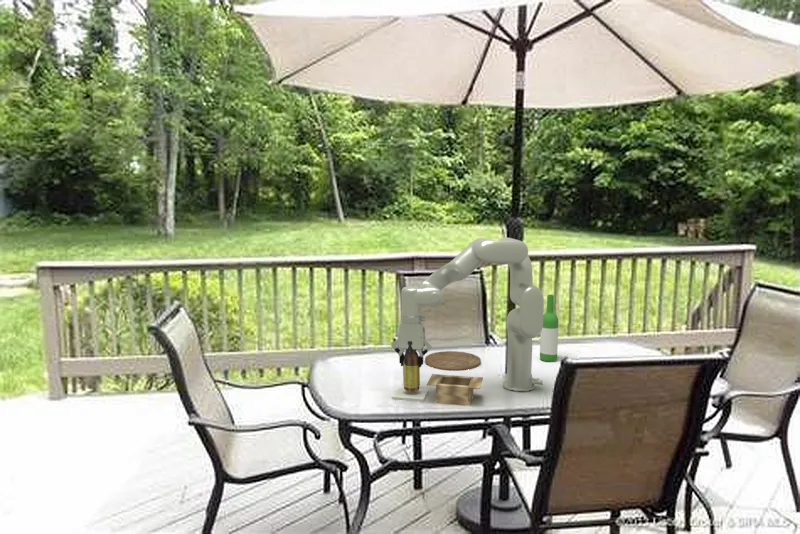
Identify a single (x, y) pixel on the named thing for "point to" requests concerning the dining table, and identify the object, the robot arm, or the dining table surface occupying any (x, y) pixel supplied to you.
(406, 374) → the sauce bottle
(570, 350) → the dining table surface
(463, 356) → the trivet
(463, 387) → the carton
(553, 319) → the wine bottle
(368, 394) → the dining table surface
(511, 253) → the robot arm
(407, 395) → the mat
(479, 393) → the dining table surface
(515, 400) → the dining table surface
